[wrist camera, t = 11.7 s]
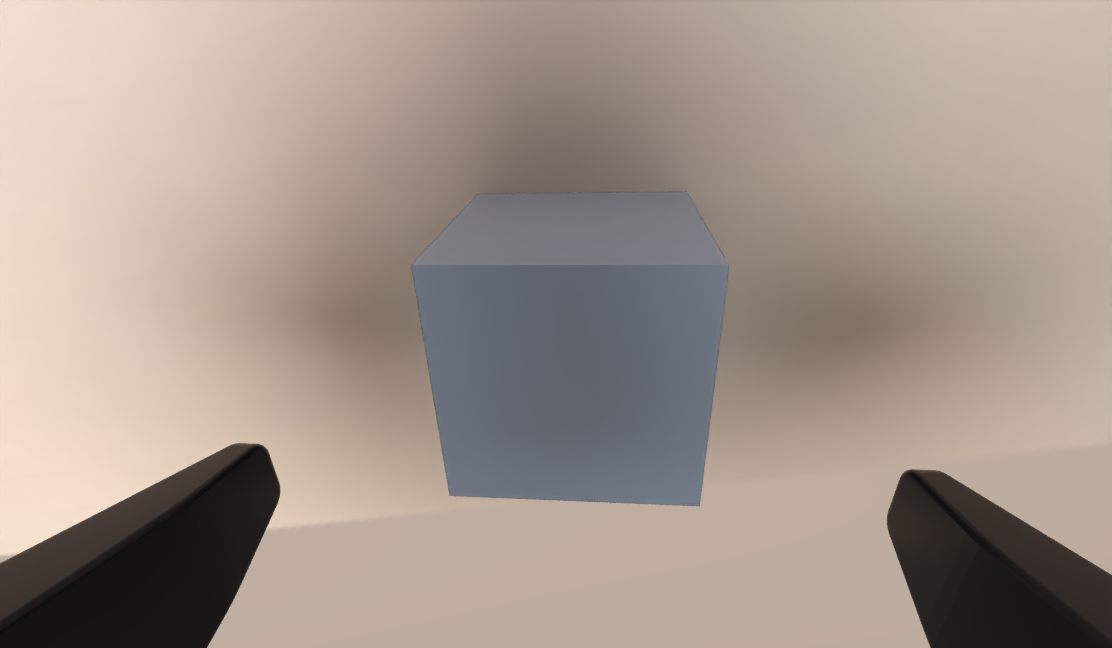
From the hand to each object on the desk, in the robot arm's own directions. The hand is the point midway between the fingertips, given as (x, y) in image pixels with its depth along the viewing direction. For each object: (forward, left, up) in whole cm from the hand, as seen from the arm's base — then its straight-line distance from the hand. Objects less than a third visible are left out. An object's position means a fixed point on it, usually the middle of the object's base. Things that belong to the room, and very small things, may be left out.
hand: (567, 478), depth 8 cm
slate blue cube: (0, 0, -7) cm, 7 cm away
